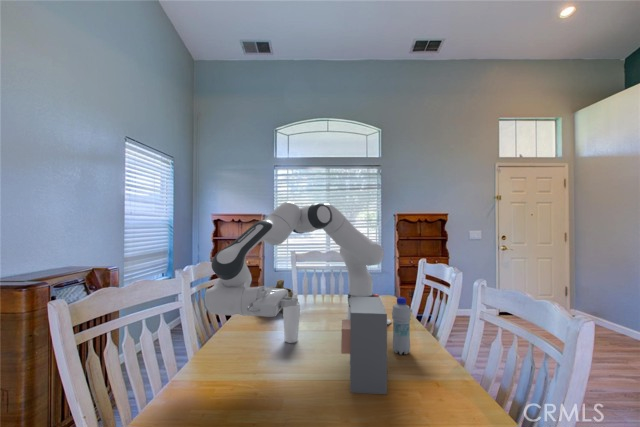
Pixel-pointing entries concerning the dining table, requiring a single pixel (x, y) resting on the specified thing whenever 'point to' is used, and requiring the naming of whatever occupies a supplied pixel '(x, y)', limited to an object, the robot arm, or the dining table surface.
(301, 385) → the dining table surface
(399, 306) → the bottle
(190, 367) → the dining table surface
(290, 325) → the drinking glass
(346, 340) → the pink rectangular block
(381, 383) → the gray rectangular box
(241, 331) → the dining table surface
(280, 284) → the olive brown basket
